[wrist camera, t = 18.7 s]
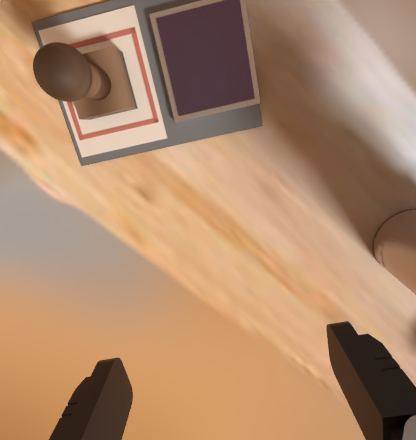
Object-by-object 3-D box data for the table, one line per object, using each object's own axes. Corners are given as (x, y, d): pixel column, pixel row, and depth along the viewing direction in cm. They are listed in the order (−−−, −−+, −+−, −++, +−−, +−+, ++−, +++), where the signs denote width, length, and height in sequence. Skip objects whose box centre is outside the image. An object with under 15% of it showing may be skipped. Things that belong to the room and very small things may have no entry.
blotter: (238, -33, 30) (238, -36, 29) (261, 125, 35) (262, 125, 34) (33, 23, 32) (29, 21, 31) (82, 165, 37) (80, 166, 36)
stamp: (122, 52, 32) (72, 13, 21) (137, 108, 34) (99, 100, 23) (72, 65, 33) (-4, 33, 21) (89, 119, 35) (29, 117, 23)
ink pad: (242, -6, 31) (244, -13, 29) (259, 103, 34) (261, 102, 32) (151, 18, 31) (148, 13, 30) (176, 122, 35) (174, 122, 33)
